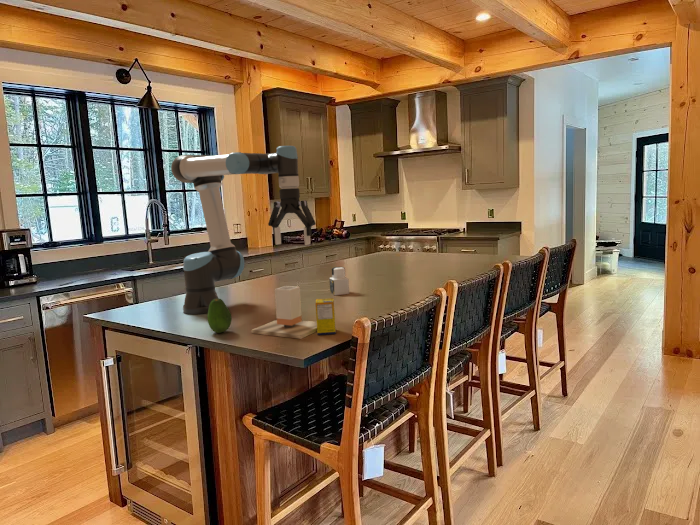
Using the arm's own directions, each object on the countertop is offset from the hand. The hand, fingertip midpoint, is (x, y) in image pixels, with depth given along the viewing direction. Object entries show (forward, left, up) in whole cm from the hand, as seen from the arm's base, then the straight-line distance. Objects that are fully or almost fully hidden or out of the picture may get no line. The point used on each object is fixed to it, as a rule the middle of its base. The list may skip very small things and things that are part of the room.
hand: (292, 244), depth 199 cm
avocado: (-9, -33, -27) cm, 43 cm away
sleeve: (+12, -22, -22) cm, 33 cm away
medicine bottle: (-3, +38, -27) cm, 47 cm away
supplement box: (+26, -21, -27) cm, 43 cm away
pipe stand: (+12, -22, -27) cm, 36 cm away
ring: (+12, -22, -24) cm, 34 cm away
